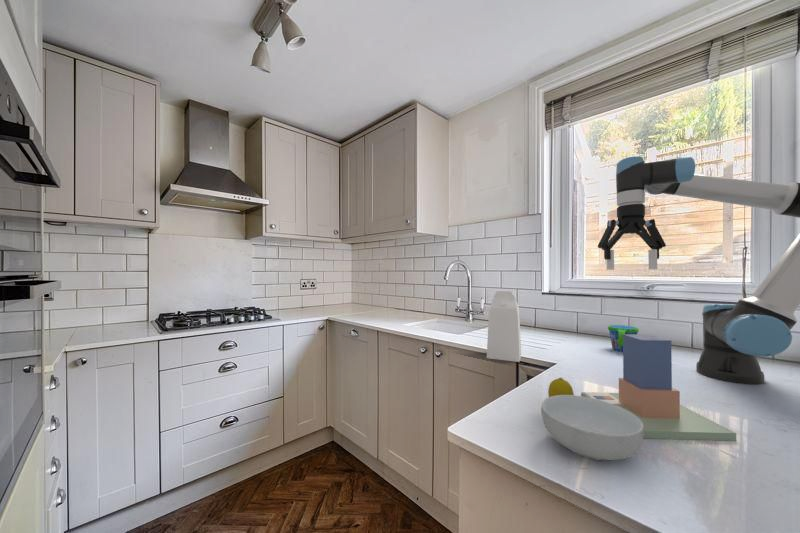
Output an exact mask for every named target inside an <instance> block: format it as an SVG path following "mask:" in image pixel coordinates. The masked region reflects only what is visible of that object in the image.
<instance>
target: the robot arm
mask: <svg viewBox="0 0 800 533" xmlns="http://www.w3.org/2000/svg"><path fill="white" fill-rule="evenodd" d="M695 172H696V162H695V159H694V158H693V157H691V156H684V157H682V156H681V157H675V158H669V159H659V160H654V161H646V160H645V158H644V156H641V155H636V156H634V155H632V156H628V157H625V158H621V159H620V160H618V162H617V163H616V172H615V180H616V181H615V182H616V183H615V184H616V186H615V188H616V206H617V208H616V218H617V220H615V219H610V220H607V223H606V229H605V230H604V232H603V234H602V236H601V238H600V240H599V242H598V245H597V249H601V250H602V251H603V255H604V258H603V259H604V260H605V261H606V270H607V271H608V270H609V271H610V270H615V249H613V247H614V246H615V245H616V244H617V243H618V241H619V240H620V239H621V238H622V237H623V235H627V234H631V235H632V234H636V235H637V236H639V237H640V238H641V239H642V240H643V242H644V243H645V244H646V245H647V246H648V247H649V248H650V249H647V250H648V252H647V254H648V270H658V260H659V259H660V250H662V249H663V248H665V247H666V246H667V244H666V242H665V240H664V238H663V237H662V235H661V233H660V231H659V229H658V227H657V226H656V220H655V219H654V218H651V219H646V220H645V215H646V205H645V203H646V193H648V194H650V195H655V196H656V195H657V196H658V195H661V194H665V195H672V196H678V197H686V198H692V199H698V200H699V199H700V200H705V201H713V202H717V203H724V204H725V203H726V204H730V205H731V204H732V205H738V206H745V207H752V208H757V209H758V208H759V209H765V210H772V211H773V213H774V214H776V215H780V216H781V215H782V216H788V217H794V218H799V219H800V182H793V181H792V182H790V183H788V184H781V183H780V184H779V183H771V182H762V181H756V180H755V181H754V180H745V179H738V178H728V177H722V176H721V177H720V176H714V175H704V174H697V173H695ZM616 227H618V228H617V230H616V231H615V229H616ZM645 227H646V228H645ZM614 231H615V233H614V234H613V232H614ZM612 234H613V235H612ZM799 307H800V233H799V234H798V235H797V236H796V237H795V239H794V240H793V241H792V242H791V244H790V245H789V247H788V248H787V249H786V251H785V252H784V253H783V254H782V256H781V257H780V258H779V259H778V261H777V262H776V263H775V265H774V266H773V267H772V269H771V270H769V272H768V274H767V275H766V276H765V278H764V279H763V280H762V281H761V283H760V284H759V285H758V287H757V288H756V289H755V291H753V293H752V294H751V296H749V297H745V298H740V299H738V301H737V302H736V304H732V303H731V304H727V303H725V304H722V303H721V304H717V303H713V304H711V303H710V304H709V303H708V304H705V305H704V306H703V307H702V308H703V310H702V313H701V314H702V343H703V344H702V345H703V347H702V351H701V354H700V355H699V359H698V361H697V362H696V366H695V367H696V370H695V371H696V372H697V373H699V374H701V375H703V376H705V377H706V376H707V377H710V378H713V379H718V380H721V381H726V382H732V383H739V384H750V385H752V384H753V385H756V384H757V385H759V384H760V385H761V384H763V383H765V374H764V372H763V371H762V369H761V366H760V363H759V361H758V359H757V357H759V358H761V357H772V356H776V355H779V354H781V353H784V352H785V351H786V350H787V349H788V348H789V347H790V346H791V344H792V341H793V335H792V332H791V330H792V329H793V328H794V326H795V325H797V322H798V320H797V318H796V316H795V312H796V311H797V309H798V308H799Z"/></svg>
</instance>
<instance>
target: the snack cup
mask: <svg viewBox="0 0 800 533" xmlns="http://www.w3.org/2000/svg"><path fill="white" fill-rule="evenodd" d="M607 329H608V331H609V337H610V341H611V342H610V343H611V347H612V350H614V351H616V350H617V352H620V351H621V353H623V334H638V333H639V328H638V327H637V326H631V325H621V324H609V325H607Z"/></svg>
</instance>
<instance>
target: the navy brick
mask: <svg viewBox="0 0 800 533" xmlns="http://www.w3.org/2000/svg"><path fill="white" fill-rule="evenodd" d="M672 361H673V360H672V339H667V338H664V337H660V336H657V335H653V334H642V333H641V334H638V333H637V334H623V352H622V362H623V365H622V369H623V370H622V371H623V372H622V373H623V374H622V375H623V377H622V378H623V379H624V380H626V381H628V382H630V383H632V384H634V385H636V386H637V387H639V388H641V389H666V390H672V388H673V387H672V386H673V383H672V382H673V378H672V375H673V374H672V373H673V372H672V371H673V369H672V368H673V367H672V366H673V364H672Z"/></svg>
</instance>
